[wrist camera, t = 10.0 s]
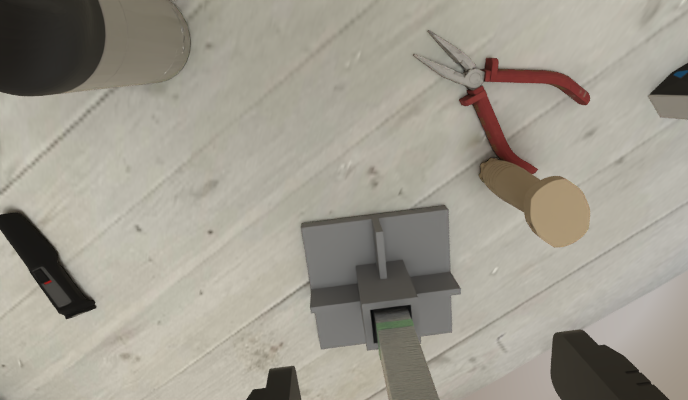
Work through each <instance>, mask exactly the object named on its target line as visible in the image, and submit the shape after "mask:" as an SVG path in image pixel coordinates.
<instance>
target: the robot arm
mask: <svg viewBox="0 0 688 400" xmlns="http://www.w3.org/2000/svg"><path fill="white" fill-rule="evenodd" d="M189 52H190V36H189V31H188V28H187V24H186V22H185V20H184V18H183V16H182V14H181V13H180V11H179V10H178V9H177V8H176V7H175V5H174V4H173V3H171V2H170V1H169V0H0V92H3V93H7V94H12V95H18V96H44V95H53V94H62V93H71V92H80V91H87V90H96V89H105V88H114V87H124V86H133V85H143V84H151V83H159V82H163V81H166V80H169V79H171V78H172V77H174V76H175V75H177V74H178V73H179V71H180V70H181V69H182V68H183V67H184V65H185V63H186V61H187V59H188V55H189ZM551 379H552V383H553V386H554V388H555V391H556V392H557V394H558V396H559V397H560V398H561V400H669V399H668V398H667V397H666V396H665V395H664V394H663V393H662V392H661V391H660V390H659V389H658V388H657V387H656V386H655V385H652V384H651V382H650V380H648V379H647V378H646V377H645V376H644V375H643V374H642V373H639V370H638V369H637V368H636V367H635V366H634V365H633V364H632V363H631V362H630V361H629V360H628V359H627V358H626V357H624V356H623V355H622V354H620V353H618V352H616V351H615V350H613V349H611V348H610V347H608V346H606V345H598V344H597V343H596V342H595V341H594V340H593V339H592V338H591V337H590V336H589V335H588V334H587V333H586V332H585V331H583V330H572V331H564V332H557V333H555V334H554V336H553V343H552V358H551ZM246 400H301V395H300V390H299V385H298V380H297V375H296V370H295V367H294V366H288V367H280V368H273V369H270V370H269V374H268V379H267V385H266V388H262V389H254V390H253V391H252V392H251V393H250V395H249V396H248V398H247V399H246Z"/></svg>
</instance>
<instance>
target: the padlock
mask: <svg viewBox="0 0 688 400" xmlns="http://www.w3.org/2000/svg"><path fill="white" fill-rule="evenodd" d="M648 97H649V99H650V101H651V103H652V104H653V106H654V108H655V109H656V111H657V113H658V114H659V116H660V117H663V118H675V119H687V120H688V63H687V64H685V65H684V66H682V67H681V68H679V69H677V70H676V71H674V72H672V73H671V74H670V75H669V76H668V77H667V78H666V79H665V80H664V81H663V82H662V83H661V84H660V85H659V86H658V87H657V88H656V89H655V90H654V91H653V92H652V93H651V94H650V95H649V96H648Z"/></svg>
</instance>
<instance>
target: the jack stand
mask: <svg viewBox="0 0 688 400" xmlns="http://www.w3.org/2000/svg"><path fill="white" fill-rule="evenodd" d="M301 231H302V237H303V243H304V249H305V255H306V261H307V267H308V274H309V280H310V286H311V302H310V310H311V313H315V316H316V322H317V329H318V335H319V341H320V347H321V349H328V348H335V347H343V346H351V345H359V344H366V346H367V351H368V350H375V349H379V348H378V343H377V338H376V332H375V327H374V317H373V309H380V308H388V307H396V306H403V305H407V308H408V311H409V314H410V317H411V319H412V321H413V324H414V328H415V331H416V334H417V337H418V340H419V343H420V344H421V337H420V336H428V335H436V334H444V333H451V332H452V311H451V295H458V294H461V288H460V287H459V285H458V283H457V282H456V280H455V279H454V277H453V275H452V274H451V272H450V244H449V210H448V208H447V207H446V206H445V205H443V206H435V207H427V208H419V209H412V210H404V211H396V212H388V213H380V214H372V215H364V216H356V217H348V218H340V219H332V220H324V221H316V222H308V223H302V225H301Z"/></svg>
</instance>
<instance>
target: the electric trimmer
mask: <svg viewBox="0 0 688 400" xmlns="http://www.w3.org/2000/svg"><path fill="white" fill-rule="evenodd" d="M0 230H1V231H2V233H3V234H4V235H5V237H6V238H7V240H8V241H9V242H10V244H11V245H12V246H13V248H14V249H15V251H16V252H17V253H18V255H19V256H20V258H21V259H22V260H23V262H24V263H25V264H26V266H27V267H28V269H29V271H30V273H31V275H32V276H33V277H34V279H35V280H36V282H37V283H38V284H39V286H40V287H41V289H42V290H43V291H44V293H45V294H46V296H47V297H48V298H49V300H50V301H51V303H52V304H53V306H54V307H55V308H56V310H57V311H58V313H59V314H62V315H64V316H65V318H66V319H69V318H72V317H75V316H77V315H80V314H82V313H85V312H88V311H90V310H93V309H95V308H96V307H95V306H93V305H94V304H95V302H94V301H93V300H87V299H86V298H85V297H84V296H83V295H82V293H81V292H80V291H79V289H78V288H77V287H76V286H75V284H74V283H73V282H72V280H71V279H70V278H69V276H68V275H67V274H66V273H65V271H64V270H63V269H62V267H61V266H60V265H59V263H58V262H57V252H56V251H55V250H54V249H53V247H52V246H51V245H50V244H49V243H48V242H47V241H46V240H45V239H44V238H43V237H42V236H41V235H40V233H39V232H38V231H37V230H36V229H35V228H34V227H33V226H32V225H31V224H30V223H29V222H28V221H27V220H26V219H25V218H24V217H23V216H22V215H21V214H20V213H8V214H1V215H0Z"/></svg>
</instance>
